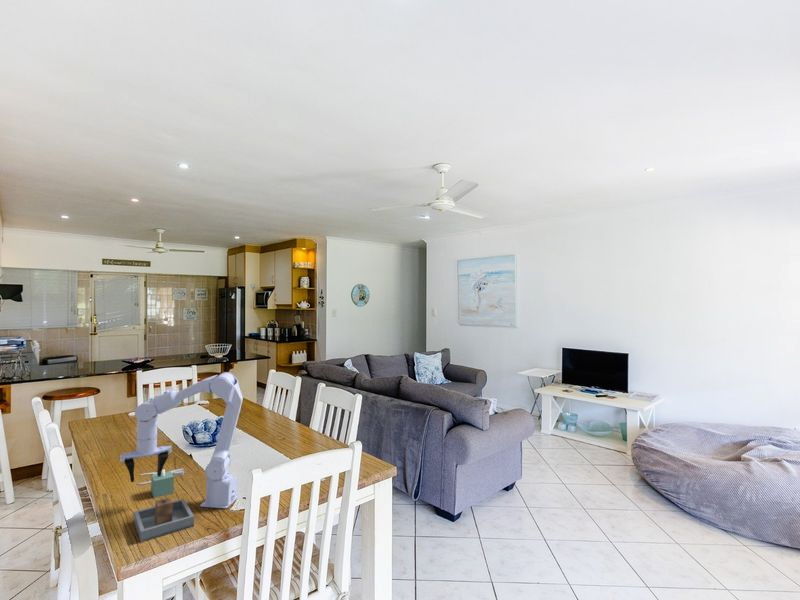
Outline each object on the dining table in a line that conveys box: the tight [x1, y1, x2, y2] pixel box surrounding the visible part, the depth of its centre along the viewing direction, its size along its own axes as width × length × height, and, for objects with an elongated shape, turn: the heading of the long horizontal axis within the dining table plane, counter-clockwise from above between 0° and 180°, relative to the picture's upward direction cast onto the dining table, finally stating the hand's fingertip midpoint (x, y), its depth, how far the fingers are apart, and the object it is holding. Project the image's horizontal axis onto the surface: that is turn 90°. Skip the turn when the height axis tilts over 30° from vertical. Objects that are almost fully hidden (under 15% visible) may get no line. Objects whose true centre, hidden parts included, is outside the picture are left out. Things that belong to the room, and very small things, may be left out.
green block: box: [150, 469, 175, 499], centre depth 146 cm, size 6×6×8 cm
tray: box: [133, 498, 195, 543], centre depth 126 cm, size 14×14×3 cm
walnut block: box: [155, 497, 173, 525], centre depth 126 cm, size 4×4×6 cm
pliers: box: [138, 468, 185, 486], centre depth 159 cm, size 10×2×15 cm
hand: (145, 478), depth 136 cm, fingers open, 7 cm apart
